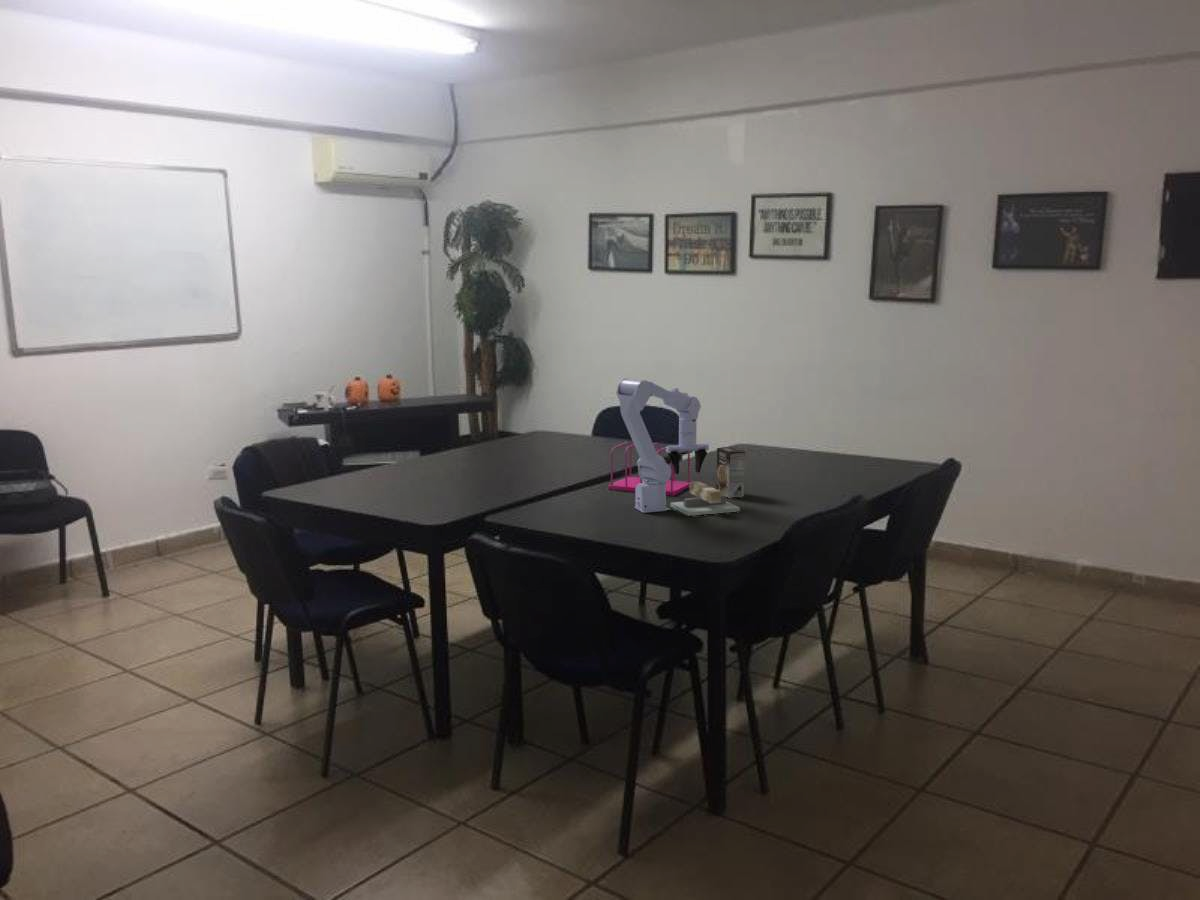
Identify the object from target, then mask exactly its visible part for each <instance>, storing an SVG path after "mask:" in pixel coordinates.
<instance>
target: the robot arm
mask: <svg viewBox="0 0 1200 900" xmlns="http://www.w3.org/2000/svg"><path fill="white" fill-rule="evenodd" d="M615 393H616V396H617V398H618V401H619V407H620V415H621V418H622V420H623V422H624V425H625V426H626V429H627V431H628V434H629V435H630V439H631V440H632V443H633V444H634V445H635V446H634V447H635V450H636V452H637V454H638V456H639V458H638V460H637V461H636V465H637V472H638V476H639V477H641V478H642V481H643V483H640V484H637V485H636V489H635V492H634V493H635V497H634V498H635V506H634V509H636V510H638V511H640V512H641V513H643V514H645V513H646V514H647V513H656V512H666V511H667V510H670V511H671V508H670V507H668V506H667V505H666V503H667V501H666V499H667V498H666V497H667V495H666V483H668V480H671V465H669V464H668V463H667V462H666V460H665V458H664V457H662V456H661V454H660V455H659V454H657V450H656V448H655V446H654V445H653V444H654V442H653V441H652V438H651V436H650V434H649V432H648V429H647V426H646V425H645V424H646V423H645V422H644V420H643V417H642V415H641V412H642V411H643V410H644V408H645V406H646V404H647V402H648V401H649V399H650V397H655V398H657V399H660V400H662V402H663V405H665V406H667V407H670V408H672V409H675V411H677V413H678V423H679V424H678V444H675V445H674V444H672V445H673V446H669V445H666V446H665V447H666V449H665V452H666V453H667V455H668V456H669V459H670V462H671V461H672V464H673V468H674V473H675V475H679V473H680V460H681V454H679V453H682V452H688V451H690V452H694V458H695V459H694V460H695V464H694V465H695V472H696V473H701V469H702V467H703V462H704V461H705V459H706V456H707V455H708V451H709V450H710V445H709V444H708V443H697V423H698V422H697V419H698V417H699V412H700V410H701V405H702V404H701V403H700V402H701V401H700V400H699V399H698V397H697V396H692V395H688V393H687V392H681V391H679V388H678V387H672V388H667V389H665V388H663V387H662V386H660V385H658V384H656V383H654V382H652V381H648V380H646V379H644V380H643V379H642V380H639V379H631V378H630V379H629V378H622V379H621V380H620V381H619V383H618V384H617V387H616V392H615ZM667 512H668V511H667Z"/></svg>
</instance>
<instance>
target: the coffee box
mask: <svg viewBox="0 0 1200 900" xmlns="http://www.w3.org/2000/svg"><path fill="white" fill-rule="evenodd" d="M745 465H746V451H745V450H742V449H739V448H738V447H737V448H736V447H734V446H728V447H727V446H725V447H724V446H723V447H722V446H721V447H717V448H716V485H715V486H716V488H715V489H717V490H719V491H721V495H724V496H726V497H728V498H729V499H732V498H731V497H741V498H743V497H742V496H744V497H745V472H746V471H745V469H746V467H745ZM728 498H727V499H728Z"/></svg>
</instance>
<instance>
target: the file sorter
mask: <svg viewBox="0 0 1200 900" xmlns="http://www.w3.org/2000/svg"><path fill="white" fill-rule="evenodd" d="M625 445H628V446H627V447H626V448H625V452H624V465H625V466H624V468H625V469H624V473H625V475H624V476H625V477H624V478H622V479H619V480H616V481H613V478H614V475H613V474H614V472H613V470H614V469H613V467H614V464H613V457H614V455H613V454H614V452H615V451H614V450H615V449H617V448H620V447H622V446H625ZM653 445H654V447H655V446H657V449H658V450H656V452H657V454H659V455H660V456H661V452H662V451H664V450H666V446H665V447H662V448H661V447H660V446H661V445H660V443H658V442H655V443H653ZM673 445H674V444H669V445H668V446H673ZM633 447H635V445H634V443H633V444H631V442H629V441H626V442H623V443H619V444H617V445H616V446H613V447H612V449H611V451H610V483H609V484H608V487H607V489H608V490H610V489H611V490H612V491H621V492H633V493H635V489H636V485H637V484H640V483H643V481H642V478H641V477H640V476H639V477H638V476H632V448H633ZM628 451H629V476H628V456H627V455H628ZM690 452H691V451H687V481H680V480H675V477H676V474H675V473H674V468H673V464H672V461H671V460H670V468H671V476H670V479H669V480H668V483H666V496H667V495H670V497H674V496H677V495H678V494H680V493H682V492H684V491H686V490H688V489H690V488H689V487H690V482H691V481H690V471H691V470H690V468H691V467H690V463H691V462H690V459H691V458H690V457H691V455H690V454H691V453H690ZM687 488H688V489H687ZM685 489H686V490H685ZM611 490H610V491H611ZM683 490H684V491H683Z"/></svg>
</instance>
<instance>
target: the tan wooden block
mask: <svg viewBox="0 0 1200 900" xmlns="http://www.w3.org/2000/svg"><path fill="white" fill-rule="evenodd" d="M689 482H690V488H689V494H691V495H694V496H695V497H699V498H701V499H703V500H705V501H707V502H709V503H719V502H721V491H719V490H717V489H716V488H715V487H713V486H710V485H708V484H706V483H703V482H702V481H689Z"/></svg>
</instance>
